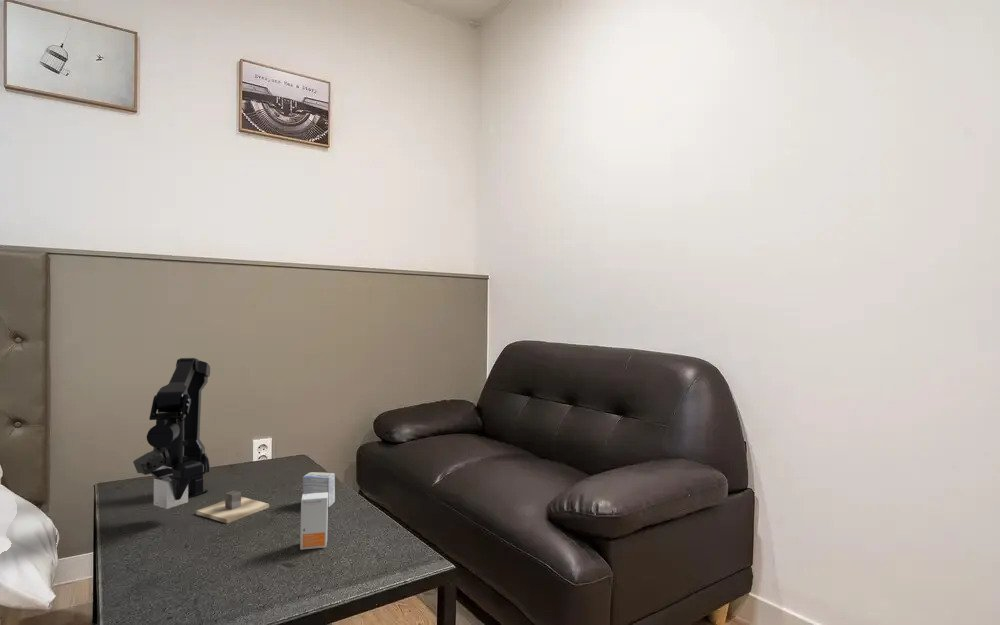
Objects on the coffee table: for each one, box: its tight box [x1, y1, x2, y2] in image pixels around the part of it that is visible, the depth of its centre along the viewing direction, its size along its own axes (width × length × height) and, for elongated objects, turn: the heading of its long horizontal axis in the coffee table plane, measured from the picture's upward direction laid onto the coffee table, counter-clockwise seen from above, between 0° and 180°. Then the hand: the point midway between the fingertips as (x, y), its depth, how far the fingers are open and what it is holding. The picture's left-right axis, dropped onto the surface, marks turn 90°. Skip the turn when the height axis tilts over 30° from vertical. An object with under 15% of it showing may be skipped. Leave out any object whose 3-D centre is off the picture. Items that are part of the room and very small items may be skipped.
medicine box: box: [302, 471, 336, 508], centre depth 156 cm, size 8×4×9 cm, turn 84°
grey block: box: [153, 474, 189, 510], centre depth 142 cm, size 6×6×7 cm
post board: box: [195, 490, 270, 524], centre depth 150 cm, size 13×13×5 cm
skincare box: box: [299, 492, 329, 551], centre depth 129 cm, size 6×4×12 cm
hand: (171, 497), depth 142 cm, fingers closed on grey block, 6 cm apart
